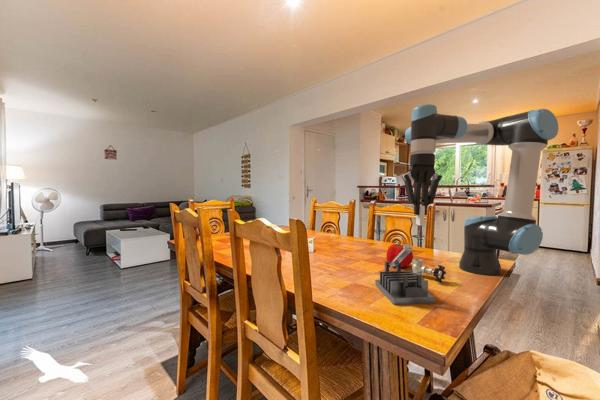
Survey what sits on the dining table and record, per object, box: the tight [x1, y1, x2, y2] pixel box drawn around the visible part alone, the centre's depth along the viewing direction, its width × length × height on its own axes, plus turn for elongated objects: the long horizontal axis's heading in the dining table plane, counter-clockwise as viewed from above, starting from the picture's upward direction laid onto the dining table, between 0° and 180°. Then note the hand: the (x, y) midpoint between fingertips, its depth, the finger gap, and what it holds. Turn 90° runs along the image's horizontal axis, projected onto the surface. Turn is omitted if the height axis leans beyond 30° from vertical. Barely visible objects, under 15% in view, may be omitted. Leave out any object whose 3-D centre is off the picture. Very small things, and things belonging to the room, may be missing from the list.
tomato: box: [385, 243, 414, 269], centre depth 126 cm, size 12×12×10 cm
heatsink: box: [374, 260, 436, 306], centre depth 95 cm, size 18×13×8 cm
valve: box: [411, 258, 447, 283], centre depth 110 cm, size 7×7×12 cm
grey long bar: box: [389, 243, 413, 268], centre depth 97 cm, size 16×3×2 cm
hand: (419, 224), depth 93 cm, fingers closed
